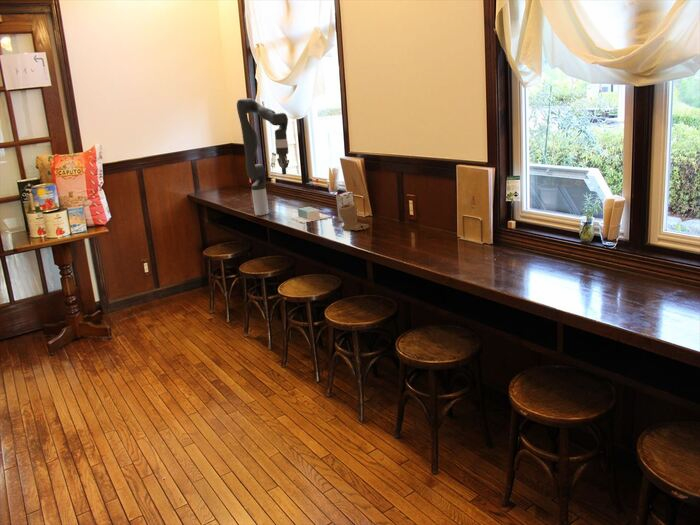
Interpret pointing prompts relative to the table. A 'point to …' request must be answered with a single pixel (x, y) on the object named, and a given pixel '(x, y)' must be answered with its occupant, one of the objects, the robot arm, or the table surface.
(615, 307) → the table surface
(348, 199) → the candy bar box
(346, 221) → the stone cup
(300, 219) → the mat
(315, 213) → the teal block
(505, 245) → the table surface
